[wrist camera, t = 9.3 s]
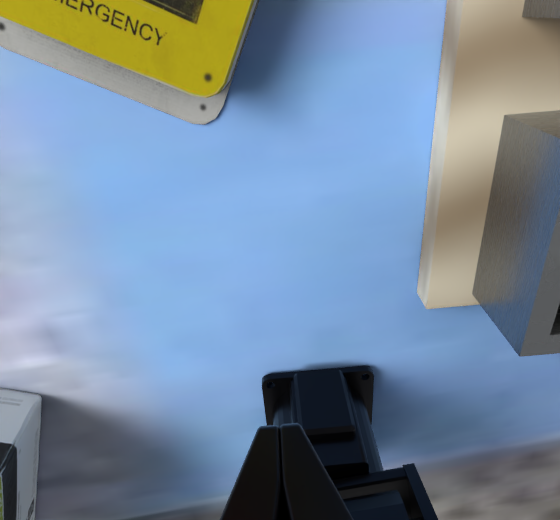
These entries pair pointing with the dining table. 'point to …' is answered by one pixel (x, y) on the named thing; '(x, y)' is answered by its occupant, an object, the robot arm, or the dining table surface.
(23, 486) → the tea box
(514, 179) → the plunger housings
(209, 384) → the dining table surface
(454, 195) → the board
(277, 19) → the dining table surface
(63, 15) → the emergency button
